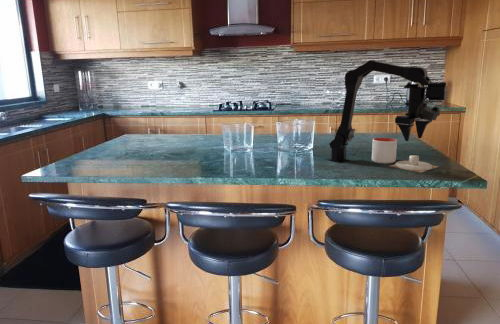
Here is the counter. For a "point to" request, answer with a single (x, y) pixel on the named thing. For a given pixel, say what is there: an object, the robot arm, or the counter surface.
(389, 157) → the cup
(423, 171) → the trivet
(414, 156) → the lid
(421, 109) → the robot arm
